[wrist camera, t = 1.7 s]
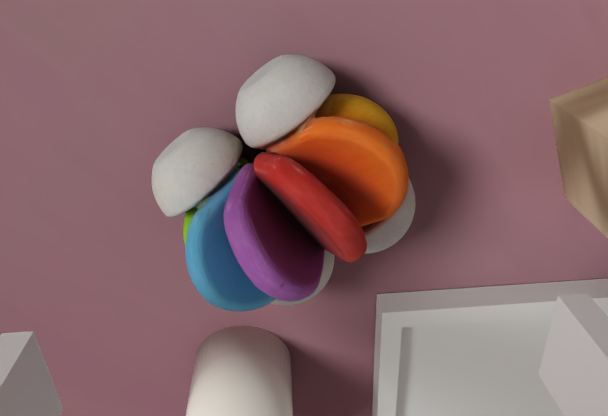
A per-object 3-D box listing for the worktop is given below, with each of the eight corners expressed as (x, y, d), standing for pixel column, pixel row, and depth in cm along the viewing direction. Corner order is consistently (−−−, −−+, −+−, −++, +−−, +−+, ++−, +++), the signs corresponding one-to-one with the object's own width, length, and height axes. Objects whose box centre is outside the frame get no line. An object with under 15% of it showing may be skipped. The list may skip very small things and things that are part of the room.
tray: (376, 294, 25) (382, 313, 24) (632, 276, 26) (651, 294, 24) (369, 477, 33) (373, 499, 31) (568, 462, 33) (579, 482, 32)
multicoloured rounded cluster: (433, 173, 22) (497, 272, 16) (263, 287, 25) (261, 412, 19) (316, 12, 19) (339, 59, 12) (132, 165, 21) (74, 267, 15)
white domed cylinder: (189, 329, 26) (168, 433, 21) (287, 322, 26) (292, 424, 21) (202, 397, 28) (187, 505, 23) (292, 390, 28) (297, 496, 23)
